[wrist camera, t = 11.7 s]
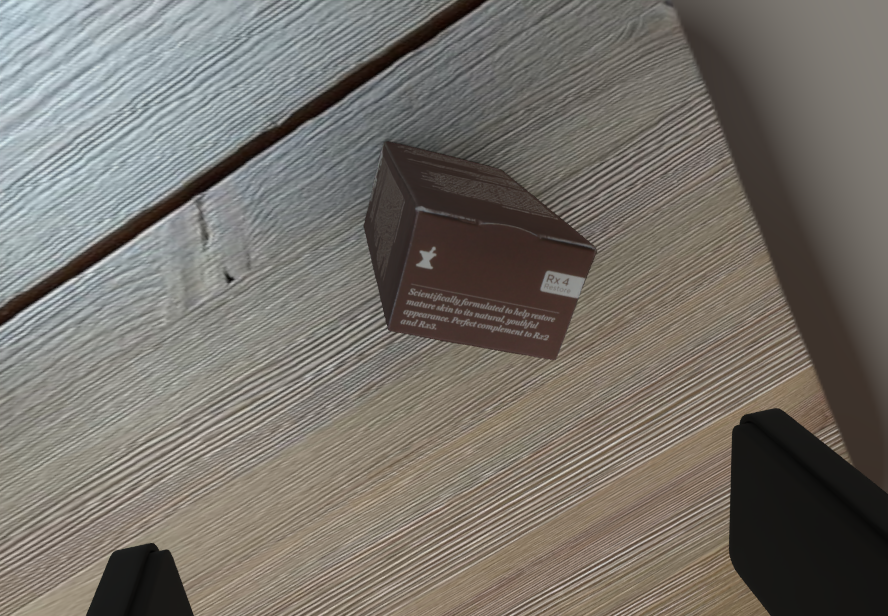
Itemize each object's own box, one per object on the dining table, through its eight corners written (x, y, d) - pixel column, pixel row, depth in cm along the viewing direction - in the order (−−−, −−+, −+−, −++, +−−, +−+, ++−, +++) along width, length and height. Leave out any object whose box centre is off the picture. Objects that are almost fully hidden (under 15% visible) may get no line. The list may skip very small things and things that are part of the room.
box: (361, 233, 32) (381, 334, 21) (383, 138, 31) (417, 192, 20) (482, 260, 34) (560, 367, 23) (508, 169, 32) (605, 237, 21)
